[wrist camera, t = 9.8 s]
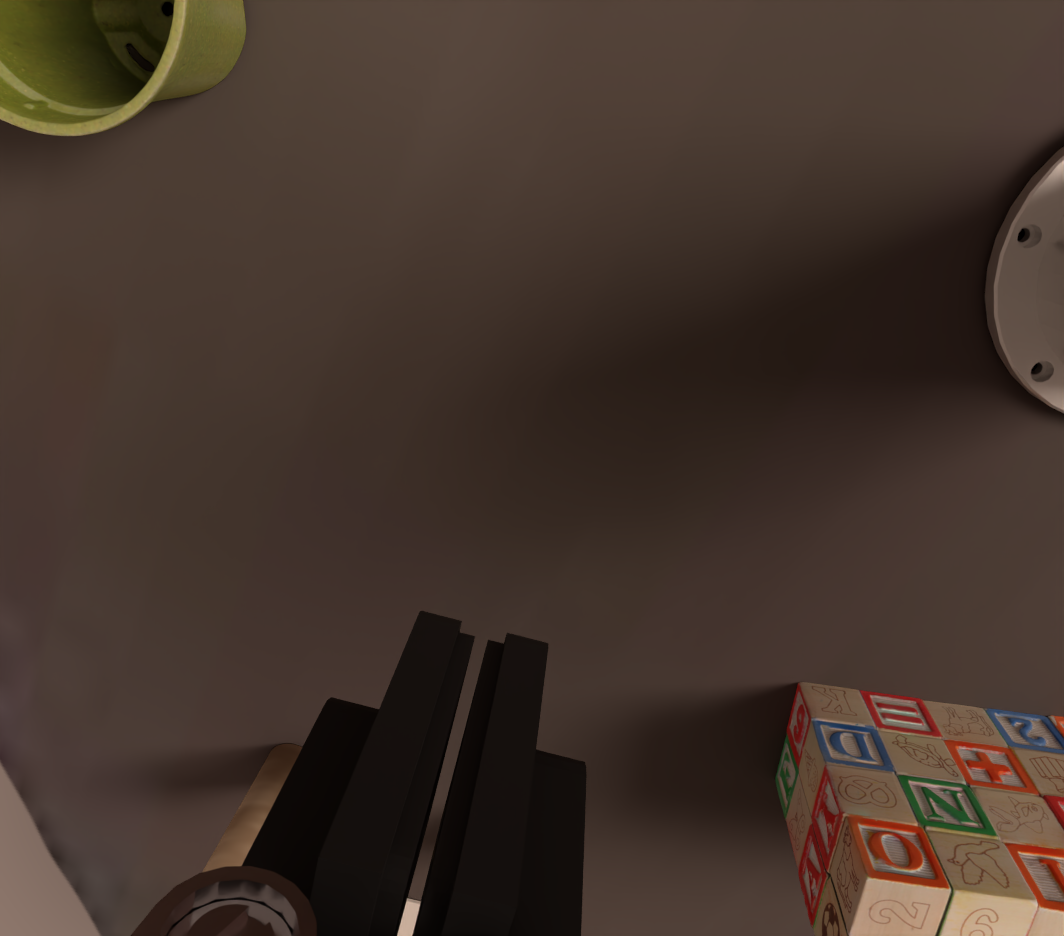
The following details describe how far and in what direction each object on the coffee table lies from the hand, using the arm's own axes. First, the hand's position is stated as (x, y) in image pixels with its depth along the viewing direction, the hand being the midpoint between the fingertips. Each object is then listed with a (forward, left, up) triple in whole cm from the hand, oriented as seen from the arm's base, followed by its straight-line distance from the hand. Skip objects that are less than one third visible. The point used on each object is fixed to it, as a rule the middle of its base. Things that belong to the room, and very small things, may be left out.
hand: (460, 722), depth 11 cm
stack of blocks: (-26, +16, -28) cm, 41 cm away
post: (+8, +27, -27) cm, 39 cm away
